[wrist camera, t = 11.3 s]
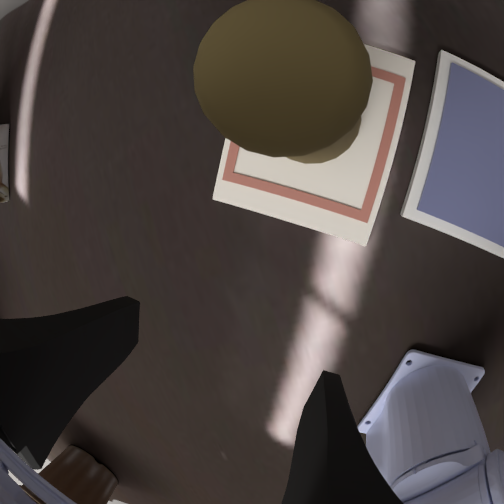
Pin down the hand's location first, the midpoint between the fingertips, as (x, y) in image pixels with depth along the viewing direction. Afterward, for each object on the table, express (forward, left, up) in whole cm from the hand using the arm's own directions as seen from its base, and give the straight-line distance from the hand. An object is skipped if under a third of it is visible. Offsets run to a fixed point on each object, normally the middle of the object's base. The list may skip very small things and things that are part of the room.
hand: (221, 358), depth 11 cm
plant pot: (-53, +22, -11) cm, 58 cm away
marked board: (+9, 0, -10) cm, 14 cm away
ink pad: (+11, -11, -10) cm, 19 cm away
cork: (+10, 0, -10) cm, 14 cm away
